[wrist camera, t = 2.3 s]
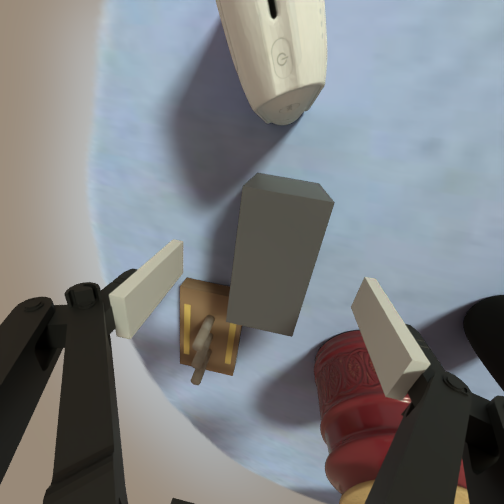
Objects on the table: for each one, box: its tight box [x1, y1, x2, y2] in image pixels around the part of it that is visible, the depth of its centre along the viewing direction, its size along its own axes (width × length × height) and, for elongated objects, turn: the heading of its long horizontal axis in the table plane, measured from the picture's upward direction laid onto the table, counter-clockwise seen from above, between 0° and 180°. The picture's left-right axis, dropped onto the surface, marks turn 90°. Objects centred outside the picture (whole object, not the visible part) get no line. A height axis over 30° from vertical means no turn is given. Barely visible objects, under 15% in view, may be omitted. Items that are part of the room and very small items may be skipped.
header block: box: [180, 278, 242, 385], centre depth 28 cm, size 14×8×6 cm, turn 172°
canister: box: [314, 330, 469, 504], centre depth 23 cm, size 13×13×18 cm
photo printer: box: [216, 0, 327, 125], centre depth 12 cm, size 10×4×12 cm, turn 16°
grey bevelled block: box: [226, 173, 334, 337], centre depth 21 cm, size 12×6×8 cm, turn 172°
